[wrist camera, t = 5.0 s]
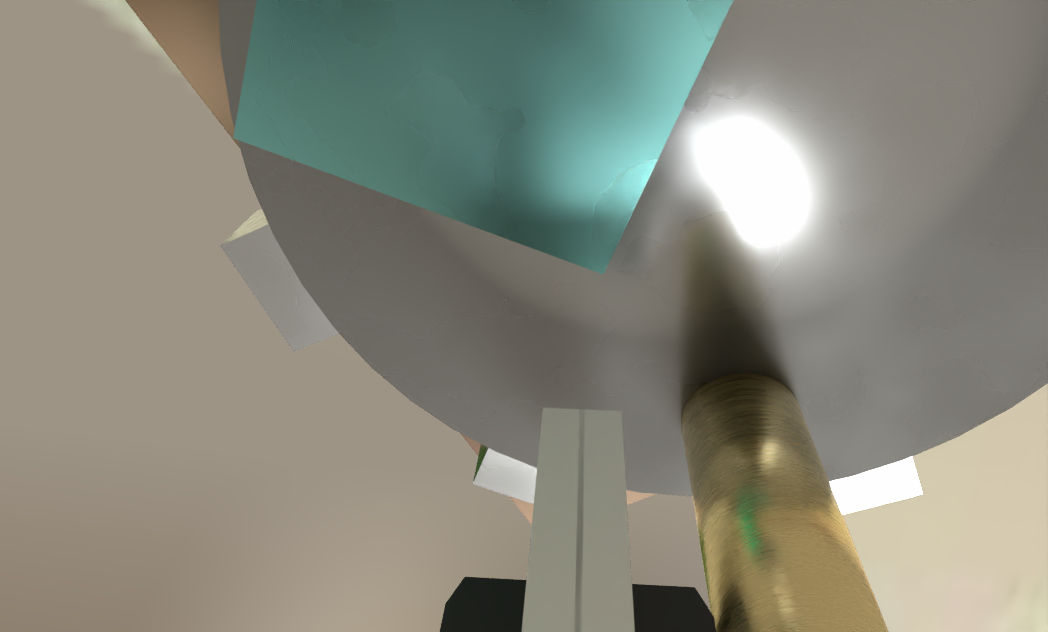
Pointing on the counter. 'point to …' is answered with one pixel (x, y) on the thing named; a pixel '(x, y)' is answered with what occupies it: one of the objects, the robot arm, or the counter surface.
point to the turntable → (667, 241)
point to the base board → (223, 85)
